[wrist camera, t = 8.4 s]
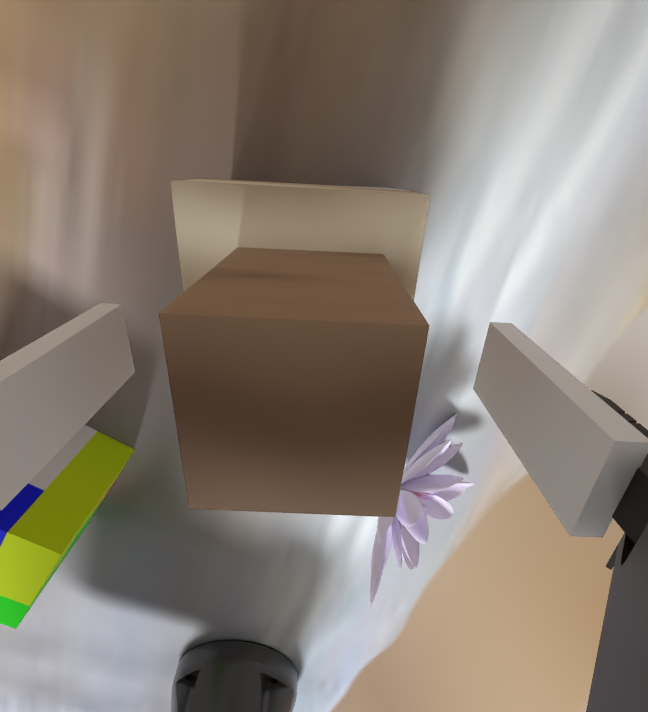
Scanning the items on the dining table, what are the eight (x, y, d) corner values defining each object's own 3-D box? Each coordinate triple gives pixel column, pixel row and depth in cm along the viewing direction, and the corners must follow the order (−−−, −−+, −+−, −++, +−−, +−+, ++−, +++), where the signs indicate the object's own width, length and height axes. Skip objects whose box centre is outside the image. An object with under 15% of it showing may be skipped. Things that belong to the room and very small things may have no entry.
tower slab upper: (383, 365, 24) (395, 411, 19) (221, 357, 23) (195, 401, 19) (407, 189, 19) (430, 195, 15) (208, 178, 19) (170, 181, 15)
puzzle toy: (18, 390, 30) (-114, 483, 21) (135, 449, 33) (61, 554, 24) (-14, 468, 34) (-138, 575, 25) (93, 515, 36) (15, 628, 27)
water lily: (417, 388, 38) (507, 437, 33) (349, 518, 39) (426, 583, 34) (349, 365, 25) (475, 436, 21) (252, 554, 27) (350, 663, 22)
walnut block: (369, 380, 18) (395, 516, 11) (244, 375, 18) (189, 508, 11) (383, 254, 16) (429, 325, 8) (237, 247, 16) (158, 313, 8)
